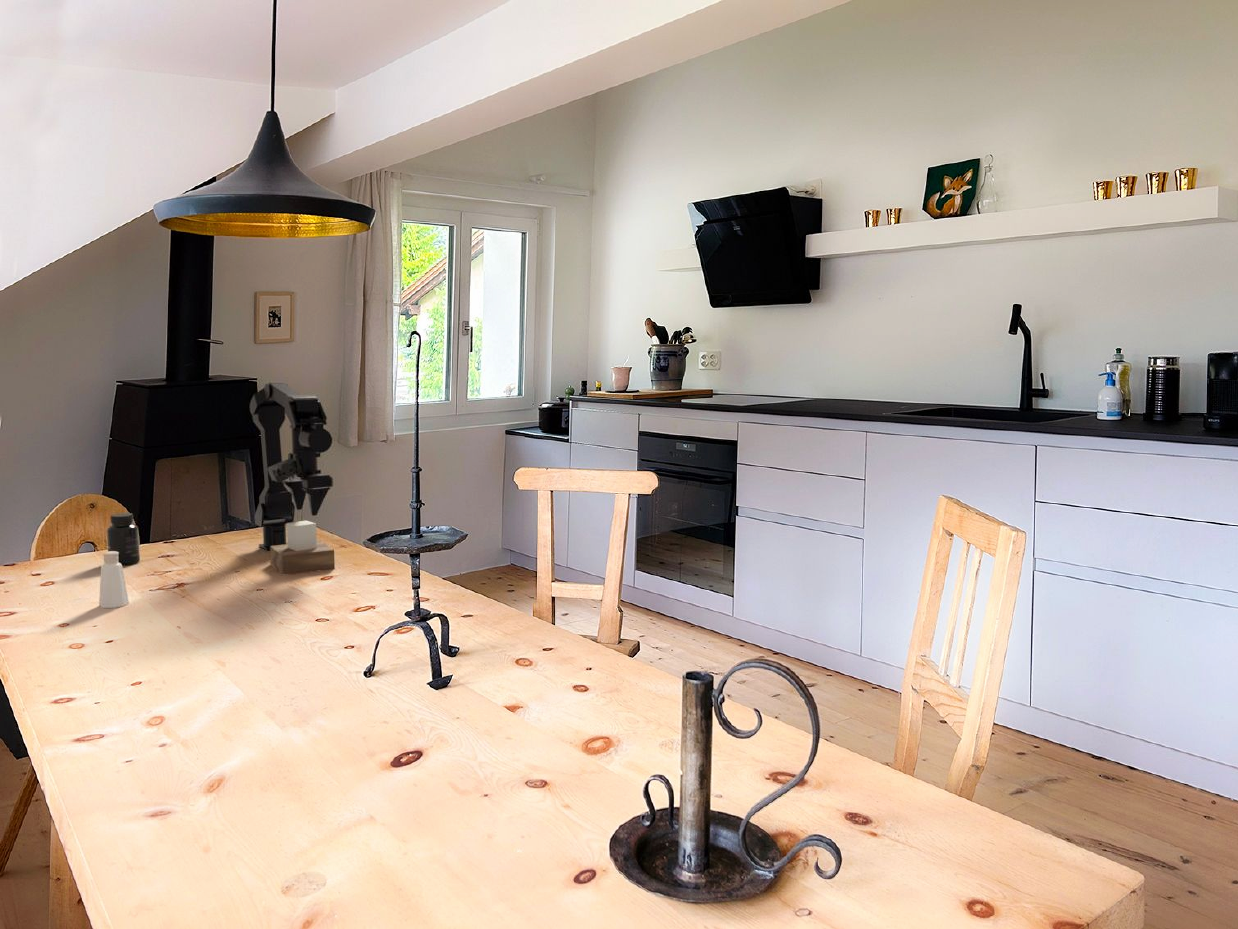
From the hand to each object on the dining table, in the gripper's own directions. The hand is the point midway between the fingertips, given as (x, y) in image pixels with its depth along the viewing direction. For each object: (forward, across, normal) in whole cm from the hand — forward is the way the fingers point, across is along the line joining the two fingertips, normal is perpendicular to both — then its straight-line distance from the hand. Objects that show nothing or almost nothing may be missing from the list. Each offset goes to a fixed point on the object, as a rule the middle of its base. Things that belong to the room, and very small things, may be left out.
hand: (306, 512), depth 229 cm
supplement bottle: (+13, -28, -34) cm, 46 cm away
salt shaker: (+13, +10, -45) cm, 48 cm away
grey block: (+8, +1, -2) cm, 9 cm away
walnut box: (+13, +1, -2) cm, 13 cm away
